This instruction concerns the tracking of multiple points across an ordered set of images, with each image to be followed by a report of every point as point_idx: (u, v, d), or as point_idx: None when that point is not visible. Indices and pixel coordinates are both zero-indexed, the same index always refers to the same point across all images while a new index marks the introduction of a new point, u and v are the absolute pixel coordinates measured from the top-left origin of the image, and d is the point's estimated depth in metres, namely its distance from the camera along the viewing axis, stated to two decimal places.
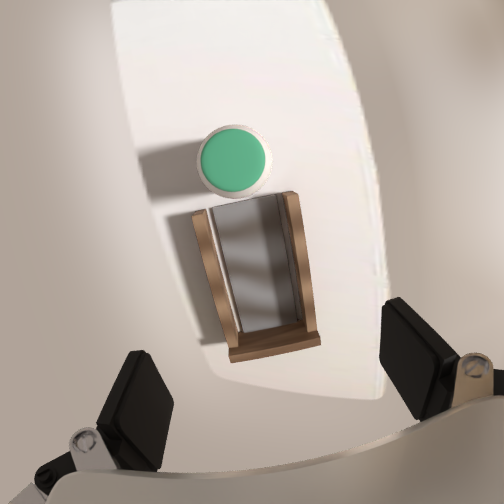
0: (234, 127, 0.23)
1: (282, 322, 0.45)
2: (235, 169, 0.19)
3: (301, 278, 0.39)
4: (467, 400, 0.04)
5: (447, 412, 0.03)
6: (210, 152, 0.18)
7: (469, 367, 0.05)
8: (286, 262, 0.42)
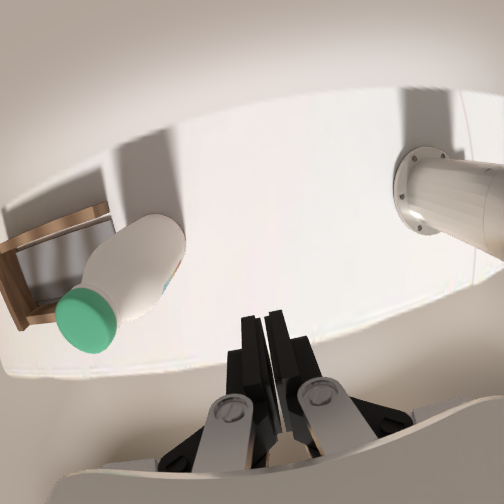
0: (147, 290, 0.21)
1: (30, 288, 0.35)
2: (73, 328, 0.15)
3: None
4: (332, 429, 0.05)
5: (447, 412, 0.03)
6: (80, 308, 0.15)
7: (313, 396, 0.06)
8: None
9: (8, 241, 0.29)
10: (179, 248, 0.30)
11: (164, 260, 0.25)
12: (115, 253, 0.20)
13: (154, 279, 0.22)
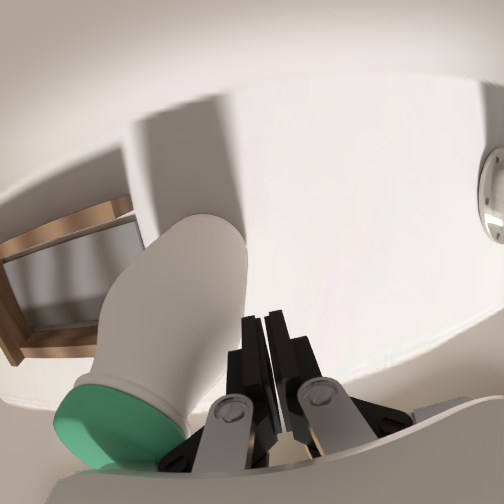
0: (225, 358, 0.12)
1: (23, 310, 0.26)
2: (98, 456, 0.06)
3: (66, 347, 0.23)
4: (332, 429, 0.05)
5: (447, 412, 0.03)
6: (110, 441, 0.05)
7: (313, 396, 0.06)
8: (83, 319, 0.26)
9: None
10: (246, 267, 0.21)
11: (240, 294, 0.15)
12: (162, 293, 0.11)
13: (234, 335, 0.13)
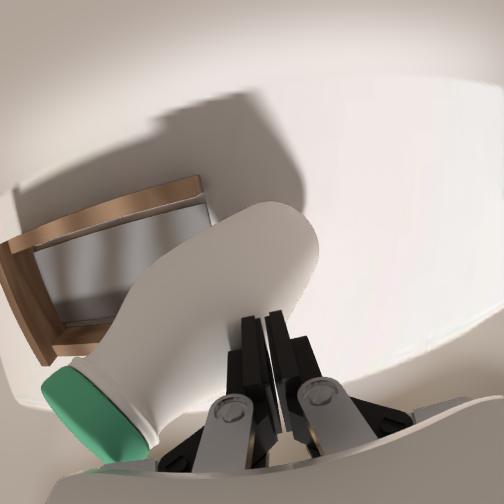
0: None
1: (56, 304, 0.26)
2: None
3: None
4: (332, 429, 0.05)
5: (447, 412, 0.03)
6: (68, 421, 0.06)
7: (313, 396, 0.06)
8: None
9: (24, 235, 0.20)
10: (308, 266, 0.18)
11: (278, 302, 0.13)
12: (173, 293, 0.10)
13: None
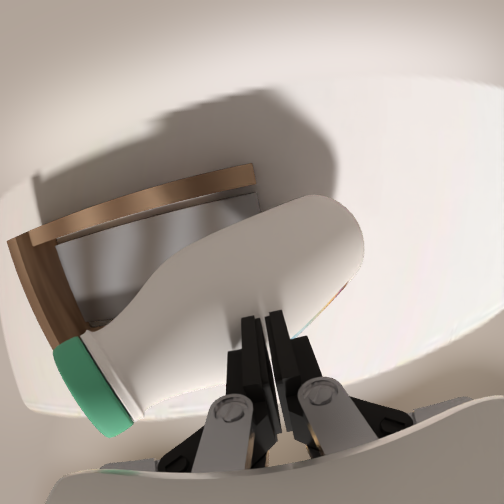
0: (226, 366, 0.11)
1: (80, 302, 0.25)
2: None
3: None
4: (332, 429, 0.05)
5: (447, 412, 0.03)
6: (64, 381, 0.08)
7: (313, 396, 0.06)
8: None
9: (50, 224, 0.19)
10: (345, 268, 0.17)
11: (293, 304, 0.13)
12: (180, 284, 0.11)
13: None
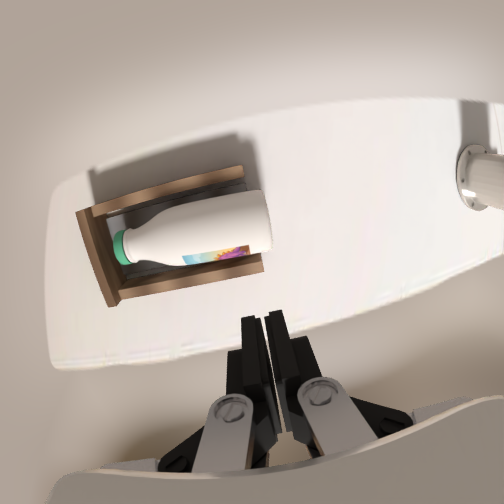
0: (155, 251, 0.32)
1: None
2: None
3: (176, 279, 0.37)
4: (332, 429, 0.05)
5: (447, 412, 0.03)
6: None
7: (313, 396, 0.06)
8: None
9: (110, 201, 0.33)
10: (235, 235, 0.31)
11: (185, 239, 0.31)
12: (153, 220, 0.32)
13: (162, 247, 0.31)
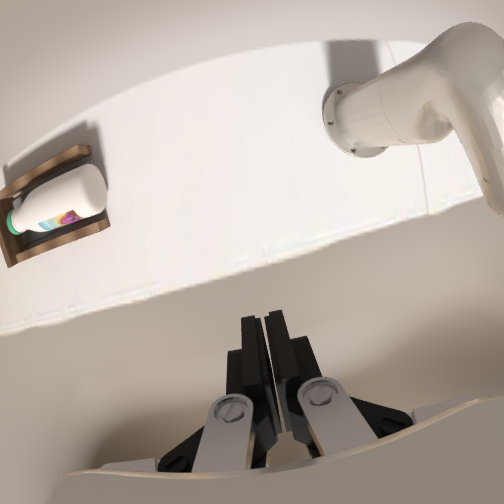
0: (25, 222, 0.33)
1: (22, 232, 0.40)
2: None
3: (46, 243, 0.37)
4: (332, 429, 0.05)
5: (447, 412, 0.03)
6: None
7: (313, 396, 0.06)
8: (59, 228, 0.40)
9: (7, 186, 0.34)
10: (62, 203, 0.32)
11: (36, 210, 0.32)
12: None
13: (26, 218, 0.32)
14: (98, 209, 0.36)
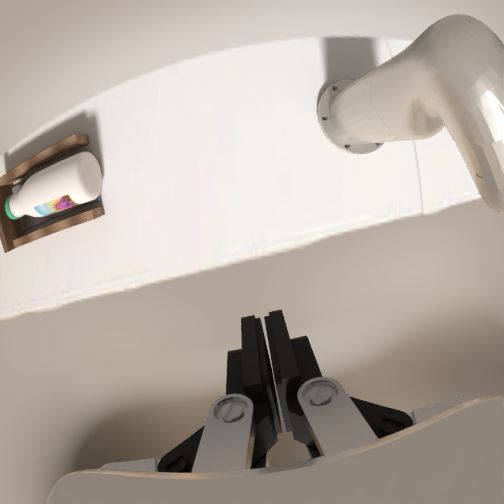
0: (22, 206, 0.33)
1: (20, 218, 0.40)
2: None
3: (42, 229, 0.38)
4: (332, 429, 0.05)
5: (447, 412, 0.03)
6: None
7: (313, 396, 0.06)
8: (56, 215, 0.40)
9: (7, 173, 0.34)
10: (58, 187, 0.32)
11: (33, 194, 0.32)
12: None
13: (23, 202, 0.32)
14: (92, 195, 0.36)
